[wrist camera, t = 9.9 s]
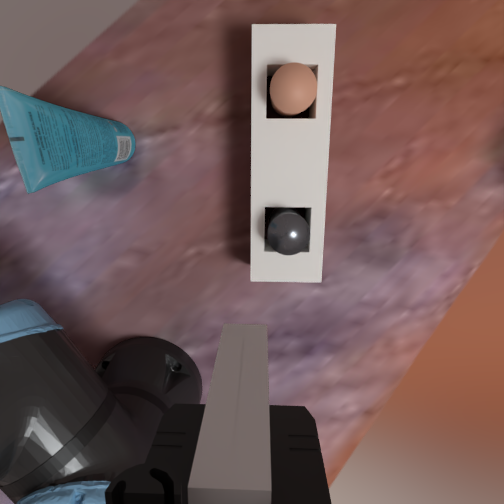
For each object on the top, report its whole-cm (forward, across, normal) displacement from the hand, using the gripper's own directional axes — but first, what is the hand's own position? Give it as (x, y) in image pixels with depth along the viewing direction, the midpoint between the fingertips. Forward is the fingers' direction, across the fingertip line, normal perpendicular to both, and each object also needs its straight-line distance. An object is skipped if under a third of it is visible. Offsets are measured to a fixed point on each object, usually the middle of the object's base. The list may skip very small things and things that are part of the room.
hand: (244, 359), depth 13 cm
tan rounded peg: (+34, +3, +13) cm, 36 cm away
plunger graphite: (+34, +3, -1) cm, 34 cm away
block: (+35, +3, +6) cm, 35 cm away
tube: (+35, -17, +8) cm, 40 cm away
